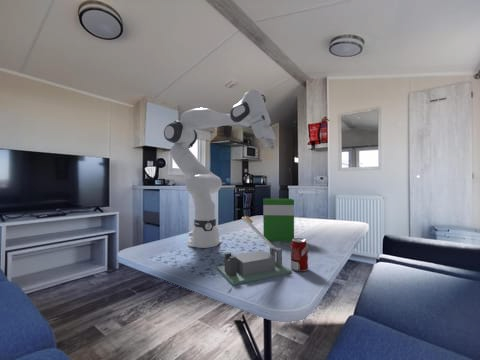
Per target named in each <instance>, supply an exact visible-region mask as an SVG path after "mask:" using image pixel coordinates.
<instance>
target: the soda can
mask: <svg viewBox="0 0 480 360" xmlns="http://www.w3.org/2000/svg"><path fill="white" fill-rule="evenodd" d="M292 240H293V241H290V242H291V243H290V268H291V270H293V271H295V272H301V273H302V272H306V271H307V270H308V269H309V244H308V242H307V239H306V238H303V237H294V239H292Z"/></svg>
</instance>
